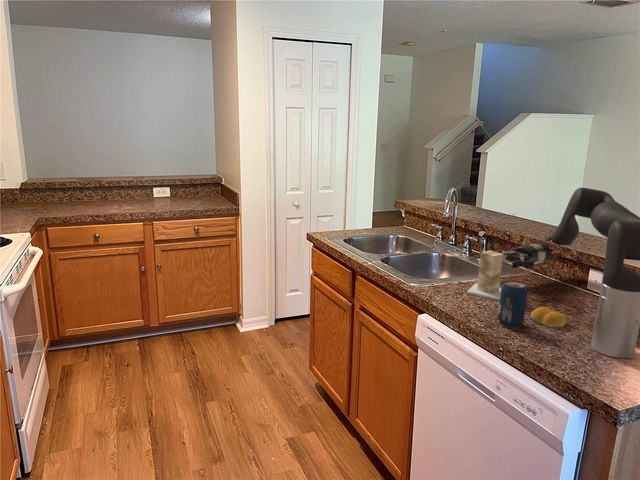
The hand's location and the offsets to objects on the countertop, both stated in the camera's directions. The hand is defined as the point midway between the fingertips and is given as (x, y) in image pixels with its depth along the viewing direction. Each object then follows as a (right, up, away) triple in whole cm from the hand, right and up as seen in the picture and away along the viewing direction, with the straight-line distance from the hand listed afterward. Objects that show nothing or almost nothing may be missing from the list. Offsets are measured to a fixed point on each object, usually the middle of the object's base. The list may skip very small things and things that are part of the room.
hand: (501, 261), depth 161 cm
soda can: (-8, -17, -26) cm, 32 cm away
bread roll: (+4, -17, -24) cm, 29 cm away
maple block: (-5, -10, -1) cm, 11 cm away
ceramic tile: (-5, -10, -1) cm, 12 cm away
